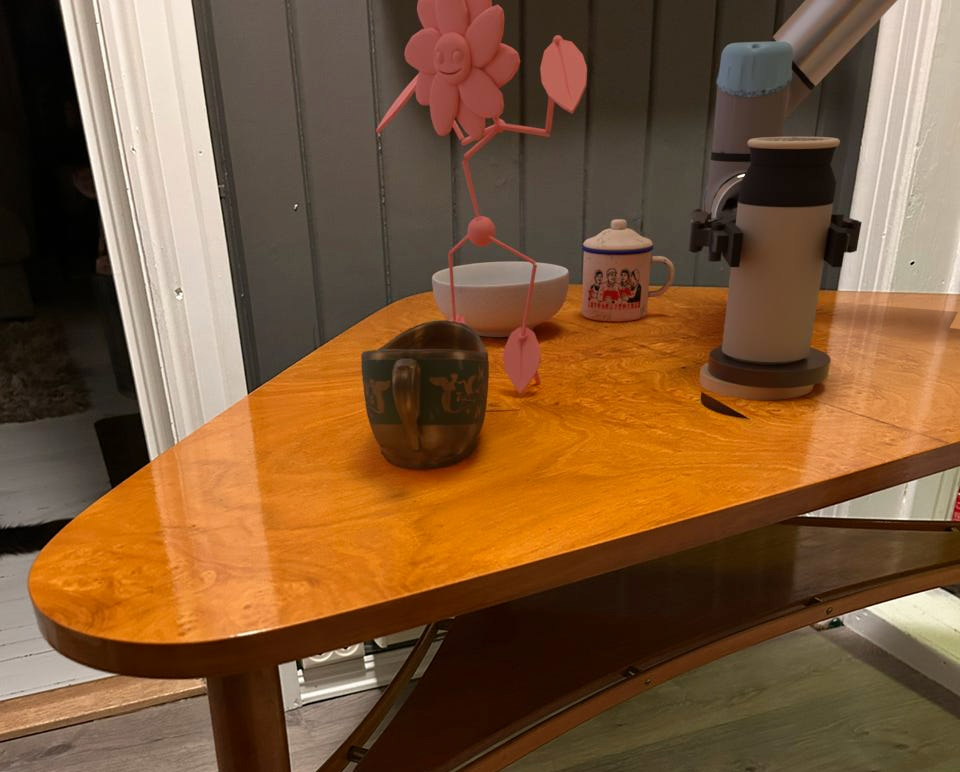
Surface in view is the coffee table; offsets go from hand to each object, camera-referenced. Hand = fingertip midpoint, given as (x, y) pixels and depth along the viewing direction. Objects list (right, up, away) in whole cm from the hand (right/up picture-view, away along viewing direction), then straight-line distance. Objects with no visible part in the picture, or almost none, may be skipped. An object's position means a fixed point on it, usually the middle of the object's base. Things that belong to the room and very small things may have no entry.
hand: (787, 250), depth 79 cm
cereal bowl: (-23, +6, +40) cm, 46 cm away
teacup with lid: (-7, +10, +45) cm, 47 cm away
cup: (-31, -16, +3) cm, 35 cm away
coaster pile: (+1, -10, +11) cm, 15 cm away
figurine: (-28, -7, +17) cm, 34 cm away
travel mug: (+1, -6, +9) cm, 11 cm away
